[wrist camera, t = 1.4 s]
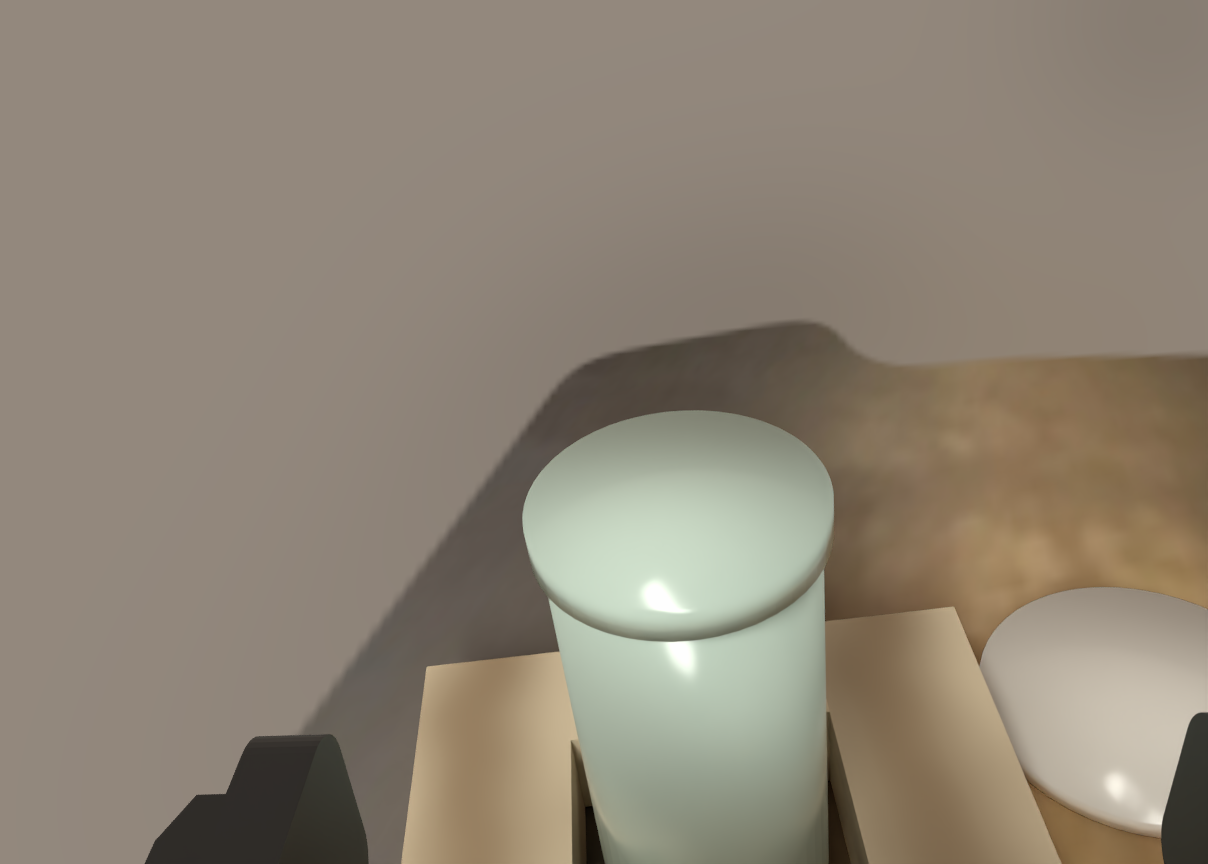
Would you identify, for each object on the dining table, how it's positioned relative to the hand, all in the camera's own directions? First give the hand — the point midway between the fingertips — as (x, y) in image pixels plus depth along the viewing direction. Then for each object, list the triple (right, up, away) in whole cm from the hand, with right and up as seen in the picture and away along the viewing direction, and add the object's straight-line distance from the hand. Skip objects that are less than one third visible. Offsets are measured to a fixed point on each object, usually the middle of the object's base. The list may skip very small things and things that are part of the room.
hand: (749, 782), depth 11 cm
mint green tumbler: (+2, -9, +19) cm, 21 cm away
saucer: (+14, -5, +22) cm, 27 cm away
